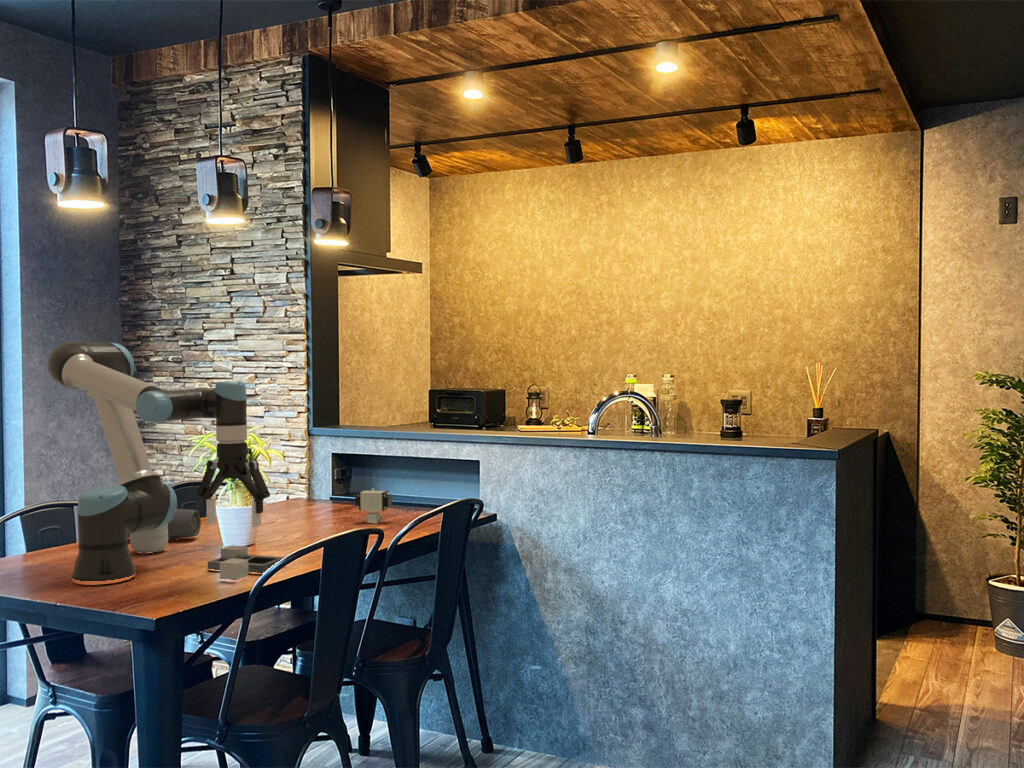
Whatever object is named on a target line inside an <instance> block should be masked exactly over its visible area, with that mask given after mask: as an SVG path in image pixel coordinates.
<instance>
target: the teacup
mask: <svg viewBox="0 0 1024 768" xmlns="http://www.w3.org/2000/svg"><path fill="white" fill-rule="evenodd" d="M129 536H130V537H129V542H130V543H129V544H130V548H131V550H133V552H136V553H137V552H141V553H147V552H157V553H160V552H162V551H163V550H164V549H165V548H166V547H167V546H168V544H169V541H168V524H166V525H164V526H161V527H158V528H155V529H152V530H151V529H148V530H144V531H139V532H134V533H129ZM159 551H160V552H159Z"/></svg>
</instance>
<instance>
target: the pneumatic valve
mask: <svg viewBox="0 0 1024 768" xmlns="http://www.w3.org/2000/svg"><path fill="white" fill-rule="evenodd" d="M392 500H393V499H392V495H391V494H389V490H376V489H375V488H371V490H362V491H359V492H358V493H356V495H355V497H354V502H355V503H354V504H355V506H356V507H357V508H358V511H362V512H363V511H367V512H368V513H367V514H366V515H365V517H364V520H365V522H366V524H368V523H372V524H371V525H377V524H379V523H380V522H382V520H383V518H382V517H383V515H382V514H381V513H380V512H385V511H386V510H388V509H389V508H391V506H392Z"/></svg>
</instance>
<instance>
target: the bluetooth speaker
mask: <svg viewBox="0 0 1024 768" xmlns="http://www.w3.org/2000/svg"><path fill="white" fill-rule="evenodd" d="M167 524H168V540H176V539H182V538H193V537H196V536H198V535H199V533H200V531H201V525H202V520H201V515H200V511H199V510H198V509H197V510H196V509H189V508H188V509H187V508H176V512H175V513H174V516H173V518H172V520H171V521H170V522H169V523H167ZM128 538H130V536H129V534H128ZM176 541H177V540H176Z"/></svg>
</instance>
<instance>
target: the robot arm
mask: <svg viewBox="0 0 1024 768" xmlns="http://www.w3.org/2000/svg"><path fill="white" fill-rule="evenodd" d="M46 365H47V370H48V373H49V375H50V377H51V378H52V379H53V381H55V382H56V383H58V384H60V385H61V386H64V387H66V388H69V389H72V390H80V389H82V390H84V391H85V393H86V394H85V395H86V396H87V397H89V398H92V399H93V400H94V403H95V405H96V410H97V413H98V415H99V418H100V421H101V426H102V428H103V431H104V436H105V438H106V441H107V445H108V448H109V451H110V454H111V458H112V460H113V461H112V462H113V464H114V465H113V466H114V469H115V470H116V474H117V477H118V482H117V484H116V485H107V486H99V487H95V488H91V489H88V490H86V491H84V492H82V493H80V495H79V497H78V499H77V509H76V513H77V523H78V524H77V525H78V529H77V530H78V532H77V533H78V554H77V556H76V560H75V562H74V563H75V564H74V568H73V570H72V572H71V579H72V578H73V579H75V580H80V581H106V580H115V579H121V578H125V577H129V576H132V575H134V574H135V573H136V572H137V569H136V565H135V564H134V562H133V558H132V555H131V552H130V549H129V537H128V534H129V533H134V532H139V531H144V530H148V529H151V530H152V529H155V528H158V527H161V526H164V525H166V524H167V523H169V522H170V521H171V520H172V518H173V516H174V513H175V512H176V509H178V500H177V499H178V498H177V495H176V492H175V490H174V489H173V487H172V486H170V485H169V484H167V483H164V482H162V479H161V476H160V474H159V473H157V472H156V471H153V470H152V466H151V464H150V460H149V457H148V454H147V451H146V447H145V444H144V441H143V438H142V437H143V436H142V435H141V432H140V427H139V426H138V422H137V419H136V416H135V412H136V413H137V416H139V418H140V419H141V420H142V421H143V422H148V423H151V422H152V423H162V422H163V423H164V422H172V421H180V420H181V421H183V420H195V419H215V428H216V429H215V438H216V440H215V441H216V442H218V443H217V444H216V458H217V460H216V459H212V460H208V461H207V462H206V468H205V472H204V473H203V476H202V480H201V482H200V485H199V486H198V489H197V492H196V496H197V497H201V498H202V499H203V507H204V508H203V510H204V511H205V512H206V525H207V526H209V525H213V524H214V525H215V524H216V523H217V517H216V515H217V514H216V512H217V511H216V510H217V509H216V497H214V495H215V493H216V492H217V491H218V490H219V488H220V487H221V485H222V484H223V482H225V480H227V479H233V480H238V481H239V482H241V483H242V484H243V487H245V489H246V490H247V491H248V492H249V494H250V495H251V497H252V498H253V500H251V518H252V519H251V521H252V522H251V525H252V528H256V527H260V526H262V513H264V500H265V499H267V498H270V497H271V494H270V490H269V489H268V486H267V484H266V481H265V479H264V477H263V476H262V473H261V471H260V466H259V462H258V460H252V461H248V458H247V457H248V449H249V448H248V443H247V442H246V441H247V440H248V427H247V426H248V422H247V421H248V418H247V415H248V413H247V407H248V406H247V400H248V396H247V388H246V384H245V382H243V381H239V380H238V381H237V380H235V381H217V382H216V383H215V388H214V389H212V388H210V389H208V388H204V389H203V388H200V389H199V388H190V389H177V390H175V389H174V390H166V389H163V388H160V387H158V386H155V385H153V384H150V383H149V382H145V381H143V380H140V379H138V378H135V377H133V376H134V369H135V363H134V359H133V356H132V354H131V353H130V351H129V350H128V349H127V348H126V347H125V346H123V345H121V344H120V343H115V342H110V341H109V342H108V341H102V342H100V341H99V342H96V341H95V342H93V341H91V342H89V341H88V342H87V341H85V342H84V341H83V342H82V341H81V342H79V341H69V342H65V343H62V344H60V345H58V346H57V347H55V348H54V349H53V350H52V351H51V353H50V354H49V356H48V359H47V364H46ZM217 469H218V472H217ZM247 470H249V472H248V471H247ZM216 472H217V474H216V475H215V473H216ZM214 476H215V478H214ZM136 574H137V573H136Z"/></svg>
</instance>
